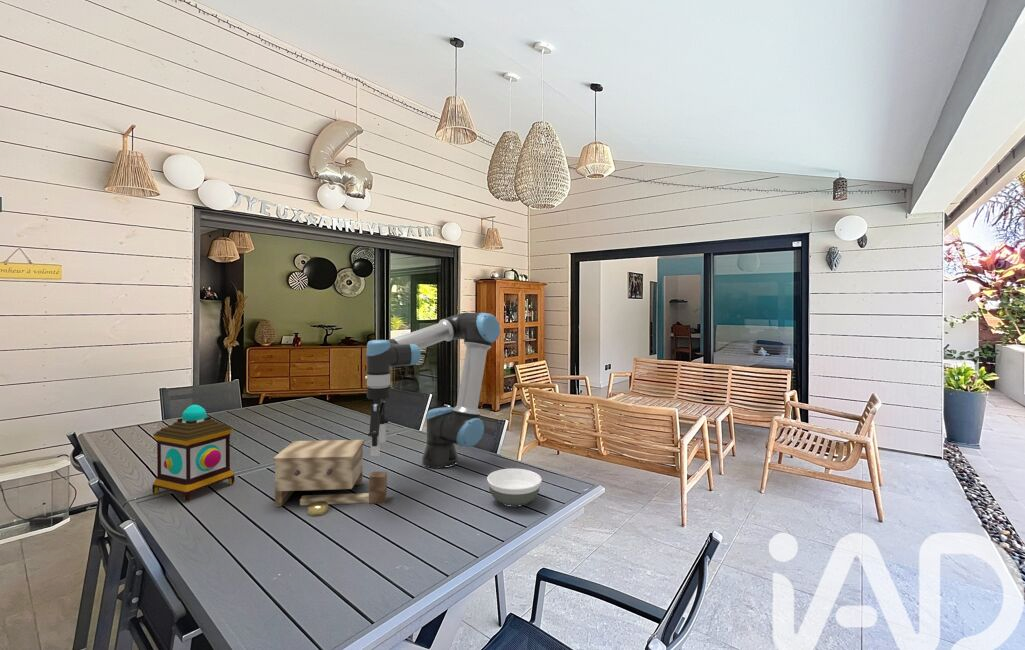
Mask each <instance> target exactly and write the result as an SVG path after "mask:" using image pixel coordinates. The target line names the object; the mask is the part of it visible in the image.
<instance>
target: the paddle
mask: <svg viewBox="0 0 1025 650" xmlns="http://www.w3.org/2000/svg"><path fill="white" fill-rule="evenodd" d="M387 477H388V472H387V470H385V471H371V472H370V475H369V477H368V492H366V493H365V492H363V493H362V492H361V493H339V494H338V493H337V494H332V493H331V494H310V495H309V494H308V495H307V494H306V495H302V496H301V497H300V499H299V506H308V505H309V504H310V503H313V502H316V501H326V502H328V505H341V504H342V505H345V504H369V505H375V504H376V505H378V504H377V503H381V504H385V502H386V500H387V487H388V486H387V483H388V482H387V480H388V478H387Z"/></svg>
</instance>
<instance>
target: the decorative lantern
mask: <svg viewBox="0 0 1025 650" xmlns="http://www.w3.org/2000/svg"><path fill="white" fill-rule="evenodd" d="M233 431H234V428H233V427H232V426H231V425H229V424H227V423H225V422H219V421H216V420H215V419H212V417H210V416H207V410H205V408H204V407H202V406H200V405H199V404H191V405H190V406H188V407H187V408H186V409H184V411H182V416H181V418H178V419H177V421H175V422H173V424H170V425H169V426H166V427H162V428H160V429H159V430H157V431H156V432H155V433H154V434H153V435H152V436H153V438H154V439H155V441H156V450H157V451H156V452H157V453H156V454H157V455H156V456H157V460H156V461H157V462H156V463H157V464H156V465H157V466H156V467H157V470H156V471H157V472H156V473H157V475H156V478H155V479H154V482H153V483H152V488H151V490H152V494H154V493H157V494H159V492H160V489H162V490H166V491H170V492H176V493H179V494H182V495H183V497H184V501H185V502H186V501H188V502H189V501H190V499H191V494H193V493H194V492H196V491H200V490H202V489H205V488H207V487H211V486H213V485H216V484H218V483H221V482H223V481H226V480H228V484H229V485H230V486H232V485H233V484H234V483H235V474H234V472H233V471H232V469H231V460H230V459H231V453H230V451H231V449H230V448H231V446H230V445H231V441H230V439H231V434H232V432H233Z"/></svg>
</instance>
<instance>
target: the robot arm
mask: <svg viewBox="0 0 1025 650" xmlns="http://www.w3.org/2000/svg"><path fill="white" fill-rule="evenodd" d="M500 334H501V326H500V323H499V320H498V318H497V317H496V316H495V315H493V314H491V313H487V312H461V313H457V314H455V315H451V316H449V317H445V318H442V319H440V320H439V322H438V323H435V324H432V325H429V326H427V327H423V328H420V329H417V330H415V331H411V332H408V333H405V334H402V335H399V336H396V337H393V338H390V339H387V340H386V339H373V340H369V341H368V342H367V344H366V353H365V354H366V355H365V356H366V375H365V378H364V379H365V380H366V386H367V388H366V398H367V399H368V400H372V401H373V402H372V404H371V406H370V419H369V421H370V422H369V432H368V433H367V437H370V457H374V456H375V457H377V456H378V457H379V456H380V454H381V453H380V451H381V450H380V447H381V445H380V444H385V443H386V442H387V441H386V440H387V439H386V438H387V435H386V434H387V424H389V420H388V418H387V410H386V408H387V407H386V400H387V399H389V398H390V396H391V387H390V385H391V368H394V367H405V366H406V367H407V366H409V367H410V366H413V365H416V364H418V363H419V362H420V360H421V354H422V352H421V350H422V349H425V348H428V347H430V346H433V345H436V344H438V343H442V342H443V341H446V342H451V341H455V340H463V344H464V346H465V347H466V350H465V353H464V361H463V366H462V373H461V378H460V384H459V391H458V395H457V402H456V405H455V406H454V407H452V406H449V407H448V406H447V407H446V406H444V407H443V406H442V407H437V408H432V409H429V410H428V411H427V414H426V420H425V421H426V446H425V449H424V452H423V454H422V458H421V464H422V463H423V464H424V465H426V466H429V467H445V466H450V465H453V464H455V463H457V462H458V463H459V455H458V452H457V448H456V445H458V446H460V447H465V448H466V447H467V448H471V447H474V446H475V445H477V444H478V442H480V440H481V439H482V437H483V436H484V432H485V424H484V421H483V420H481V412H480V410H479V403H480V396H481V392H482V384H483V378H484V371H485V365H486V359H487V354H488V351H489V350H490V349H491V348H492V347H493V343H494V342H496V341H497V340H498V338H499V336H500ZM455 444H456V445H455ZM458 463H457V464H458ZM423 464H422V465H423ZM424 465H423V466H424ZM426 466H425V467H426ZM429 467H428V468H429Z"/></svg>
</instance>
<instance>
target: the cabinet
mask: <svg viewBox="0 0 1025 650" xmlns="http://www.w3.org/2000/svg"><path fill="white" fill-rule="evenodd" d="M365 441H366V440H365V439H340V440H339V439H337V440H335V439H334V440H333V439H331V440H330V439H329V440H328V439H326V440H292V441H291V442H290V443H289V444H288V445H287V446H286V447H285V448H284V449H282V450H281V451H280V452H279V453H277V454H276V455H275V456H274V457H273V458H272V462H274V507H283V506H284V504H285V503H286V502H287V501H288V499H289V498H290V497H291V496H292V494H294V493H295V491H298V492H299V491H300V492H301V491H324V490H325V491H326V490H327V491H328V490H329V491H330V490H353V488H354V486H356V485H362V484H363V481H364V480H363V475H364V473H363V472H364V471H363V470H364V469H363V468H364V467H363V465H364V463H363V461H364V457H363V456H364V454H363V453H364V448H363V447H364V444H365Z"/></svg>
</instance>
